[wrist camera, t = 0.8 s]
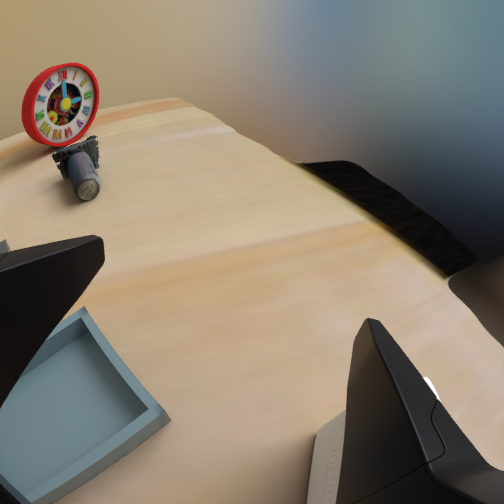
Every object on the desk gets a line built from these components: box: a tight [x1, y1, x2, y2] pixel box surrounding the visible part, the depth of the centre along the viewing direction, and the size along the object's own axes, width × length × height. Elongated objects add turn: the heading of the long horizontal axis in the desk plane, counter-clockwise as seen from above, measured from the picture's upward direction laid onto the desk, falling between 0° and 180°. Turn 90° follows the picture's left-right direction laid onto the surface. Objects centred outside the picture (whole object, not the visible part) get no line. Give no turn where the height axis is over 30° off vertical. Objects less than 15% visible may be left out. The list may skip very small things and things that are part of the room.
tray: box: [0, 307, 171, 504], centre depth 15 cm, size 18×12×3 cm, turn 139°
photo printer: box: [307, 377, 440, 504], centre depth 11 cm, size 10×4×12 cm, turn 171°
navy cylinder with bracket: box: [52, 135, 101, 200], centre depth 39 cm, size 9×8×12 cm
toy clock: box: [21, 63, 99, 146], centre depth 47 cm, size 20×6×20 cm, turn 157°
